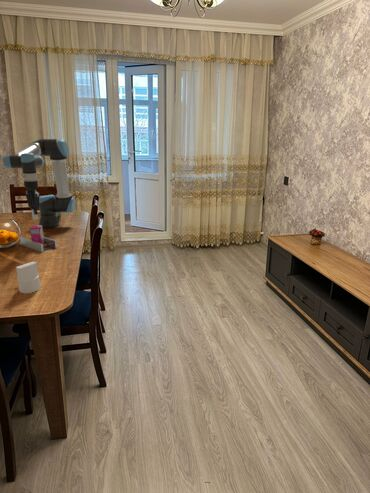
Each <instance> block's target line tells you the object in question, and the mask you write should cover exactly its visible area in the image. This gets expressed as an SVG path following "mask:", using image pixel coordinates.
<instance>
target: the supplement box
mask: <svg viewBox="0 0 370 493" xmlns="http://www.w3.org/2000/svg"><path fill="white" fill-rule="evenodd" d="M43 230H44V229H43V228H42V225H39V224H38V225H32V226H31V227H29V232H30V238H31V239H30V240H32V241H35V242H38V243H41V244H44V243H45V242H44V237H45V236H44V231H43Z"/></svg>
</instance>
